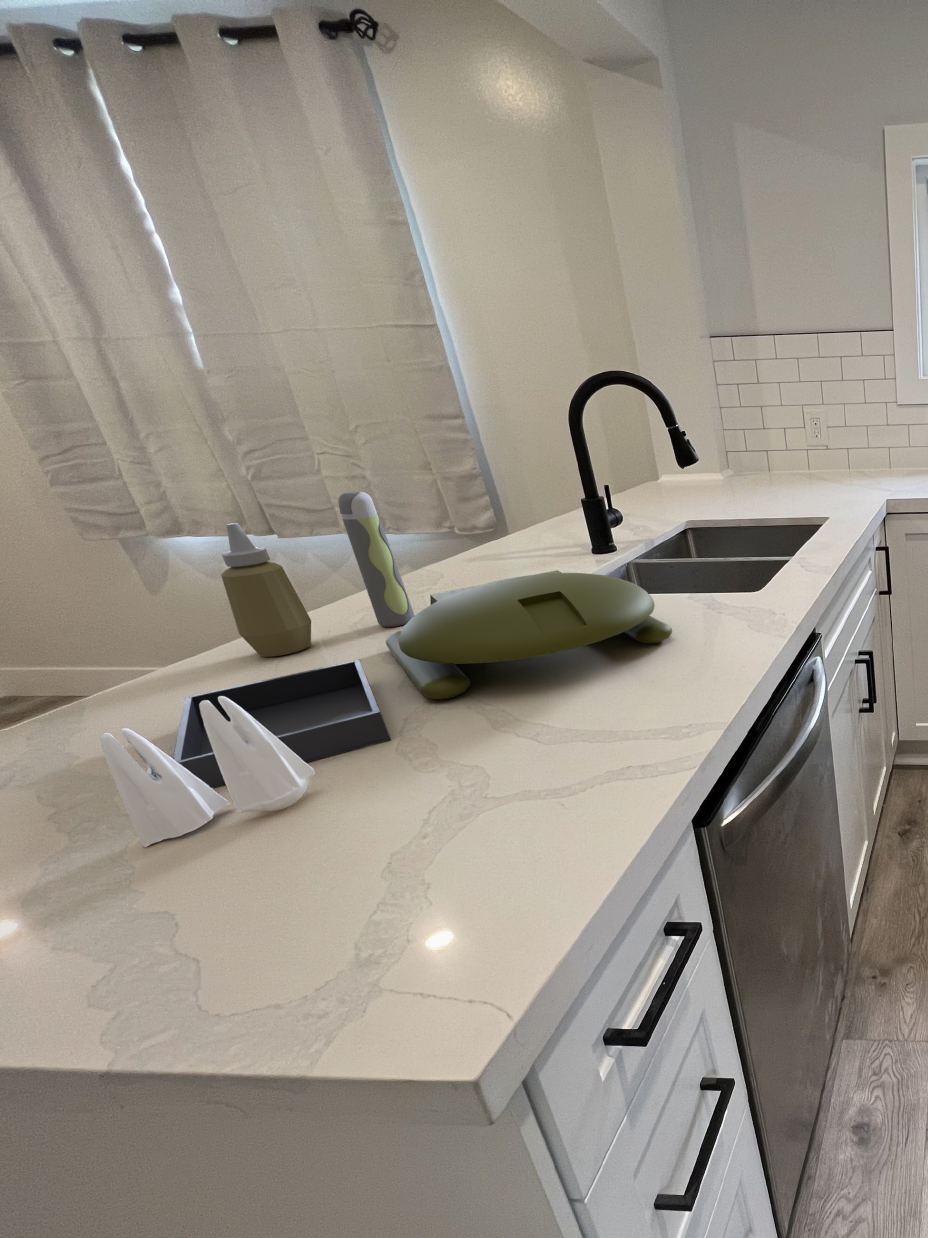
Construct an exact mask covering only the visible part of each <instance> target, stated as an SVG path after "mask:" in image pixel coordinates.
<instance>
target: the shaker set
mask: <svg viewBox="0 0 928 1238" xmlns="http://www.w3.org/2000/svg"><path fill="white" fill-rule="evenodd" d="M218 701H219V703H220V704H221V706H222V707H223V708H224V710H225V711H226V713H227V714H228V716H229V717H230V719H231V722H228V721H227V720H226V719H225V718H224V717H223V716H222V715H221V713H220V712H219V711H218V710H217V709H216V708H215V707H214V706H213V705H212V703H211V702H210V701H208V700H204V701H202V702H201V703H200V704H199V707H200V712H201V716H202V719H203V722H204V726H205V729H206V732H207V735H208V738H209V741H210V743H211V746H212V749H213V752H214V755H215V757H216V760H217V763H218V766H219V768H220V771H221V774H222V776H223V779H224V781H225V784H226V785H225V786H226V789H227V790H228V794H229V796H230V798H231V801H232V803H233V806H234V808H235V810H236V812H238V813H239V814H241V813H251V812H252V813H253V812H278V811H282V810H284V809H287V808H289V807H291V806H292V805H295V804H296V803H297V802H298V801H299V800H300V799H301V798H302V797H303V795H304V794H305V792H306V791H307V790H308V788H309V784H310V782H311V780H312V779H313V778H314V776H315V774H316V772H315V769H314V767H312V766H310V764H308V762H307V763H305V762H304V761H303V760H302V759H301V758H300V757H299V756H298V755H296V754H295V753H294V752H293V751H292V750H291V749H289V748H288V747H287V746H286V745H285V744H284V743H283V742H281V741H280V740H279V739H278V738H277V737H276V736H274V735H273V734H272V733H271V732H270V731H268V730H267V729H266V728H265V727H264V726H263V725H261V724H260V723H259V722H258V721H257V720H255V719H254V718H253V717H252V716H251V715H250V714H248V713H247V712H246V711H245V710H243V709H242V708H241V707H240V706H238V705H237V704H236V703H234V702H233V701H231V700H230V699H228V698H227V697H224V696H219V697H218ZM120 733H121V735H122V736H123V737H124V739H125V740H126V741H127V743H128V744H129V745H130V746H131V747H132V749H133V750H134V751H135V753H136V754H137V755H138V756H139V758H141V760H142V761H143V762H144V764H145V765H146V766H147V770H145V769H144V768H142V766H141V765H140V764H139V763H138V762H137V760H136V759H135V758H134V757H133V756H132V755H131V754H130V753H129V752H128V750H127V749H126V748H125V747H124V746H123V745H122V744H121V742H119V741H118V740H117V738H115V737H114V736H113V735H112V734H111V733H109V732H106V733H103V734H102V735H101V736H100V737H99V740H100V744H101V748H102V752H103V754H104V757H105V761H106V763H107V767H108V769H109V771H110V773H111V776H112V779H113V781H114V784H115V786H116V789H117V791H118V793H119V796H120V798H121V801H122V803H123V805H124V808H125V810H126V812H127V814H128V817H129V818H130V821H131V823H132V825H133V827H134V830H135V831H136V834H137V836H138V838H139V840H140V842H141V846H142V847H144V848H147V847H149V846H150V845H152V844H156V843H159V842H161V841H163V840H167V839H174V838H177V837H181V836H183V835H185V834H188V833H190V832H193V831H195V830H197V829H199V828H200V827H203V826H204V825H205V824H207V823H208V822H210V821H211V820H212V819H214V815H215V814H217V812H218V811H220V810H221V809H223V808H226V807H228V806H229V805H230V801H229V800H228V799H226V798H225V797H224V796H222V795H221V794H219V793H220V792H218V791H216V790H215V788H210V787H209V786H208V785H207V784H206V783H205V782H203V781H202V780H200V779H199V778H198V777H196V776H195V775H193V774H192V773H191V772H190V771H188V770H187V769H186V768H184V767H183V766H182V765H181V764H179V763H178V762H177V761H175V760H174V759H173V757H171V756H170V755H168V754H167V753H165V752H164V751H162V750H161V749H160V748H159V747H158V746H156V745H155V744H153V743H152V742H150V741H149V740H147V739H146V738H145V737H143V736H142V735H140V734H138V733H137V732H135V731H133V730H132V729H129V728H121V729H120Z"/></svg>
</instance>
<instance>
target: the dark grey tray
mask: <svg viewBox="0 0 928 1238" xmlns="http://www.w3.org/2000/svg"><path fill="white" fill-rule="evenodd" d="M219 696H224V697H227V698H228V699H230V700H231V701H233V702H234V703H236V704H237V705H238V706H240V707H241V708H242V709H243V710H245V711H246V712H247V713H248V714H250V715H251V716H252V717H253V718H254V719H255V720H257V721H258V722H259V723H260V724H261V725H263V726H264V727H265V728H266V729H267V730H268V731H270V732H271V733H272V734H273V735H274V736H276V737H277V738H278V739H279V740H280V741H281V742H283V743H284V744H285V745H286V746H287V747H288V748H289V749H291V750H292V751H293V752H294V753H295V754H296V755H298V756H299V757H300V758H301V759H302V760H303V761H304V762H305V763H307V764H308V763H312V762H314V761H318V760H321V759H322V760H323V759H324V758H330V757H333V756H336V755H340V754H343V753H348V752H351V751H355V750H359V749H362V748H366V747H369V746H374V745H377V744H381V743H385V742H388V741H391V740H392V739H391V736H390V734H389V731H388V729H387V726H386V725H387V724H386V723H385V721H384V717H383V715H382V713H381V710H380V707H379V705H378V703H377V700H376V697H375V695H374V692H373V690H372V688H371V684H370V683H369V681H368V678H367V675H366V672H365V671H364V668H363V665H362V663H361V660H360V659H356V660H352V661H351V660H350V661H346V662H342V663H337V664H333V665H329V666H325V667H319V668H314V669H310V670H305V671H301V672H295V673H291V674H288V675H287V674H286V675H282V676H281V675H280V676H278V677H272V678H268V679H263V680H259V681H254V682H250V683H244V684H241V685H235V686H230V687H226V688H221V689H216V690H213V691H208V692H203V693H199V694H193V695H190V696H189V695H188V696H185V697H184V702H183V706H182V710H181V711H182V712H181V717H180V722H179V727H178V732H177V737H176V742H175V747H174V752H173V757H172V759H174V760H175V761H177V762H178V763H179V764H181V765H182V766H183V767H184V768H186V769H187V770H188V771H190V772H191V773H192V774H193V775H195V776H196V777H198V778H199V779H200V780H202V781H203V782H205V783H206V784H207V785H208V786H209V787H210V788H213V789H215V788H218V787H222V786H226V784H225V781H224V779H223V776H222V774H221V771H220V768H219V766H218V763H217V760H216V757H215V755H214V752H213V749H212V746H211V743H210V741H209V738H208V735H207V732H206V729H205V726H204V722H203V719H202V716H201V712H200V707H199V704H200V703H201V702H202V701H204V700H208V701H210V702H211V703H212V705H213V706H214V707H215V708H216V709H217V710H218V711H219V712H220V713H221V715H222V716H223V717H224V718H225V719H226V720H227V721H228V722H231V719H230V717H229V716H228V714H227V713H226V711H225V710H224V708H223V707H222V706H221V704H220V703H219V701H218V697H219Z"/></svg>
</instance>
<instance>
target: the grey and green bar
mask: <svg viewBox="0 0 928 1238" xmlns="http://www.w3.org/2000/svg"><path fill="white" fill-rule="evenodd" d="M337 502H338V508H339V514H341V516H342V522H343V526H344V528H345V531H346V534H347V537H348V540H349V543H350V546H351V549H352V551H353V555H354V556H355V557H354V558H355V561H356V563H357V565H358V568H359V572H360V574H361V577H362V580H363V583H364V586H365V589H366V592H367V595H368V597H369V600H370V604H371V606H372V609H373V612H374V615H375V618H376V621H377V623H378V626H381V627H384V628H394V627H400V626H405V625H406V624H407V623H408V622H409V621H410V620H411V619H412V618H413V617H414V616H415V615H416V614H415V612H414V610H413V607H412V604H411V601H410V597H409V595H408V593H407V590H406V588H405V585H404V582H403V579H402V575H401V573H400V571H399V568H398V565H397V562H396V559H395V557H394V554H393V552H392V548H391V546H390V542H389V540H388V537H387V534H386V532H385V528H384V526H383V524H382V521H381V518H380V516H379V515H378V512H377V510H376V507H375V504H374V501H373V499H372V497H371V496H370V495H369V494H368V493H367V492H363V491H358V490H357V491H356V490H355V491H354V490H353V491H352V490H351V491H346V492H345V491H344V492H343V493H341V494H340V495H339V496H338V500H337Z"/></svg>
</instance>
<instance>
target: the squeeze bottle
mask: <svg viewBox="0 0 928 1238" xmlns="http://www.w3.org/2000/svg"><path fill="white" fill-rule="evenodd" d="M226 532H227V537H228V544H229V550H228V551H226V552H223V553H221V557H222V559H223V562H224V564H225V566H226V567H228V568H226V569H225V570H224V571H223V572H222V573H221V574H220V577H221V581H222V584H223V587H224V589H225V592H226V596H227V599H228V602H229V606H230V609H231V612H232V615H233V616H232V617H233V619H234V623H235V626H236V629H237V632H238V634H239V635H240V637H241V638H242V639H243V640H244V641H245V642H246V643H247V644H248V645H249V646H250V647H251V648H252V649H253V650H254V651H255V652H256V653H257V655H259V656H260V657H279V656H287V655H290V654H294V653H298V652H300V651H303V650H305V649H308V648H309V647H310V646H311V645H312V619H311V617H310V615H309V613H308V612H307V609H306V608H305V606H304V604H303V602H302V600H301V599H300V597H299V595H298V592H297V591H296V589H295V587H294V586H293V584H292V582H291V580H290V578H289V577H288V574H287V573H286V571H285V569H284V568H283V566H282V565H281V564H279V563H277V562H273V561H270V560H271V558H270V555H269V553H268V551H267V549H266V548H265V547H261V546H259V547H256V546H255V545H254V543H253V542H252V541H251V540H250V538H249V537H248V536H247V534H246V533H245V531H244V530H243V528H242V527H241V525H240V524H239V523H238V522H232V523H226Z"/></svg>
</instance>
